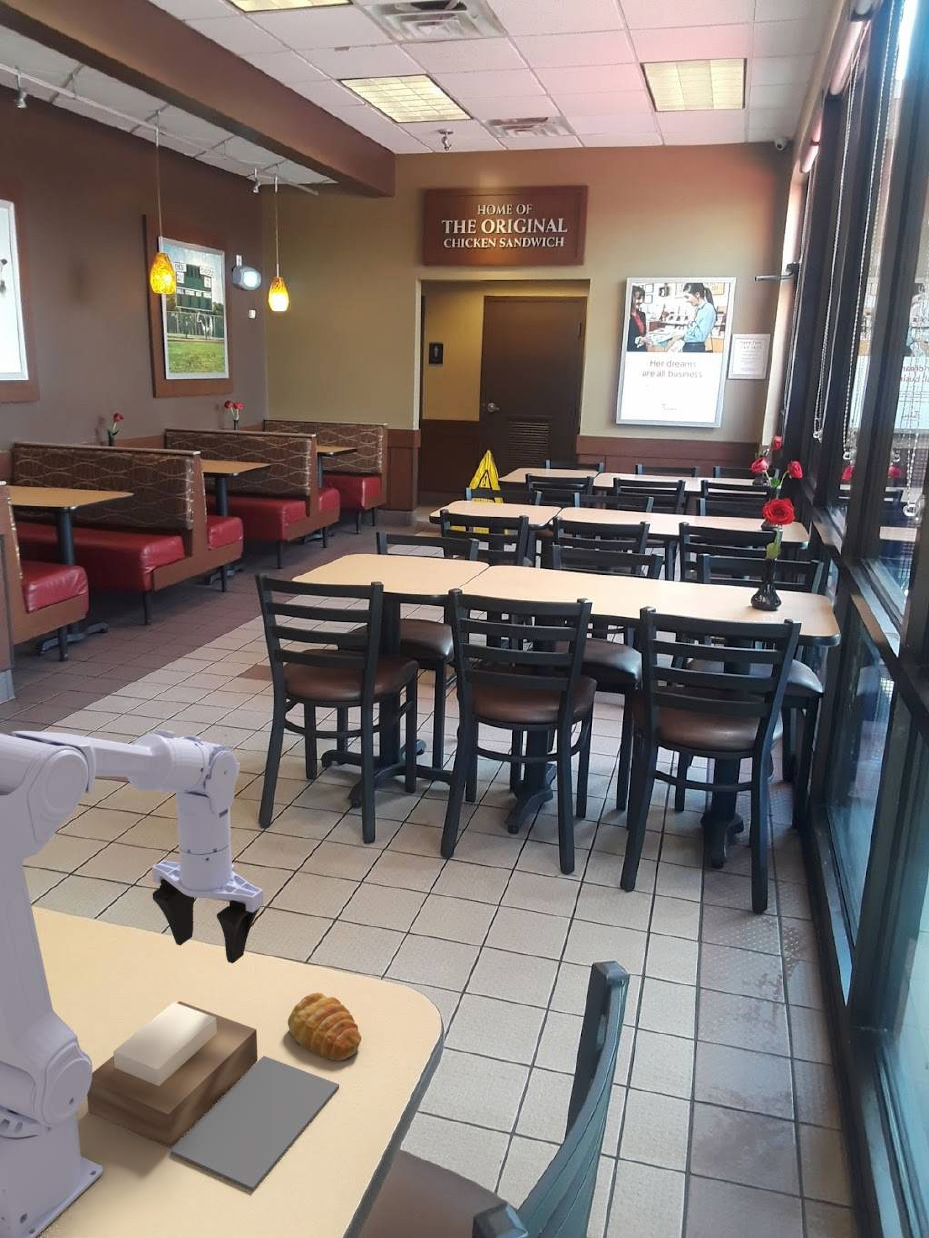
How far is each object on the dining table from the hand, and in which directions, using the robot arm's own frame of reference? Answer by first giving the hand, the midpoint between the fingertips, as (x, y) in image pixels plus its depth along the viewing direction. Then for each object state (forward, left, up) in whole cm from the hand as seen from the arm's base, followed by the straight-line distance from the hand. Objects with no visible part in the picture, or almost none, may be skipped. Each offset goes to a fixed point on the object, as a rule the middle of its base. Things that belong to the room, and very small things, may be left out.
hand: (209, 949), depth 108 cm
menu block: (-10, -2, -6) cm, 12 cm away
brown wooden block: (-10, -3, -10) cm, 14 cm away
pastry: (+4, -13, -10) cm, 17 cm away
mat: (-10, -14, -10) cm, 20 cm away
